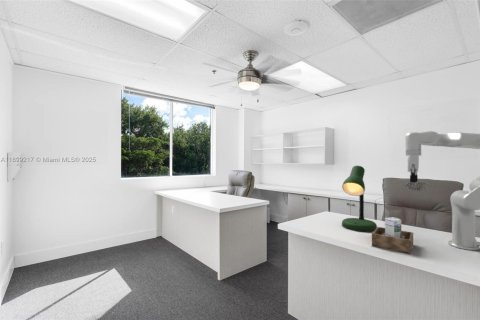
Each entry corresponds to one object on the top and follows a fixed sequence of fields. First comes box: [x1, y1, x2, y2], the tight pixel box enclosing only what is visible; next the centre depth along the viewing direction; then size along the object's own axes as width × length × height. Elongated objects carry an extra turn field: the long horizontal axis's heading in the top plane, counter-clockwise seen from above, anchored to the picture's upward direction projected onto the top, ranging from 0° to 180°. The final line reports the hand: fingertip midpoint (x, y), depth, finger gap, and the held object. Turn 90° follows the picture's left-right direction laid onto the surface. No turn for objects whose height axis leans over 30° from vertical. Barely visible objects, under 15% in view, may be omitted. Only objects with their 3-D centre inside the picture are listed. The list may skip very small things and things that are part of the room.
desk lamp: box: [341, 165, 378, 233], centre depth 166 cm, size 31×23×45 cm
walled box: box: [371, 226, 414, 255], centre depth 133 cm, size 18×18×7 cm
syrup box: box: [384, 216, 402, 238], centre depth 133 cm, size 6×6×14 cm
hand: (413, 181), depth 139 cm, fingers open, 9 cm apart
